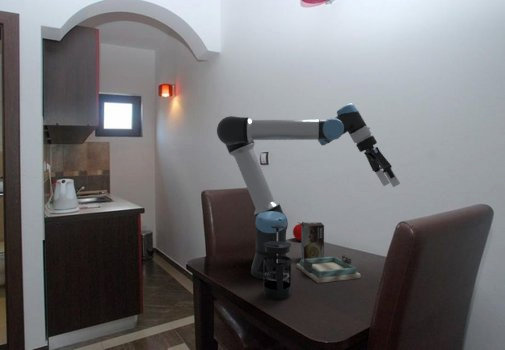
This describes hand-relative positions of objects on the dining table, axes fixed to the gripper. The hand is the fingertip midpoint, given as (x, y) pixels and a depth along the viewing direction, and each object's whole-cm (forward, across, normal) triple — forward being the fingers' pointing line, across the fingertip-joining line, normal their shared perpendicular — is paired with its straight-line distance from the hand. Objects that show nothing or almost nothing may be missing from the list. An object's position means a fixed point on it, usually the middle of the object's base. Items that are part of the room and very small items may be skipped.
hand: (391, 185), depth 140 cm
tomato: (+10, +46, +45) cm, 65 cm away
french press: (+8, -29, +57) cm, 64 cm away
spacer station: (+17, -5, +40) cm, 43 cm away
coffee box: (+14, +12, +43) cm, 47 cm away
